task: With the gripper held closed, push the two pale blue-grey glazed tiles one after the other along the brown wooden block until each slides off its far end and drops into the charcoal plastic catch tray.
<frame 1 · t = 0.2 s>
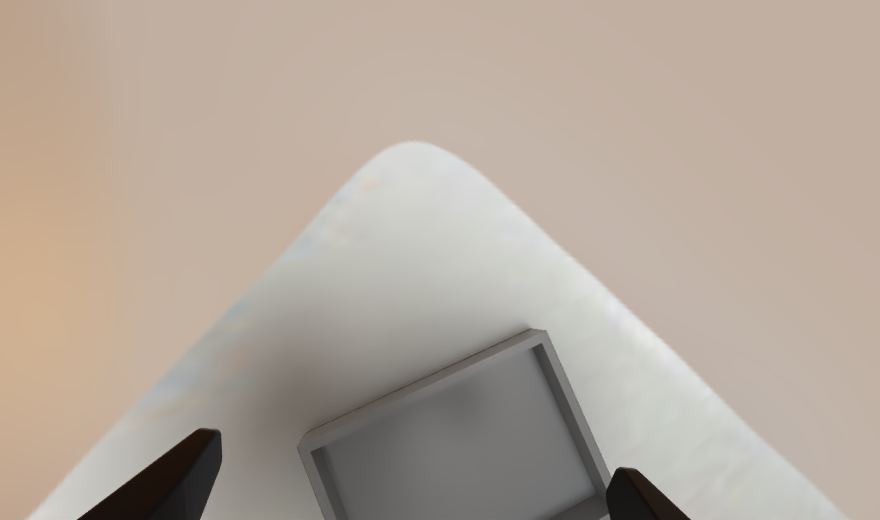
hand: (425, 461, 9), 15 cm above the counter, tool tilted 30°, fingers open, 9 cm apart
tray: (459, 464, 23), on the counter
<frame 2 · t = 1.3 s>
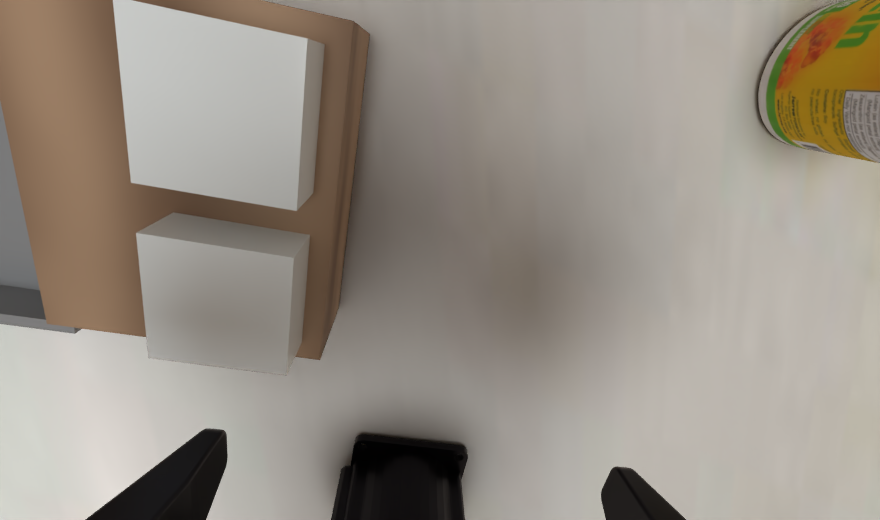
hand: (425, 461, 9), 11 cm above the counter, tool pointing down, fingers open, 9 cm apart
tile 2: (244, 109, 13), point 4 cm above the counter, touching brown wooden block
brown wooden block: (231, 167, 17), on the counter
supplement bottle: (816, 78, 17), on the counter
tile 1: (242, 281, 15), point 4 cm above the counter, touching brown wooden block
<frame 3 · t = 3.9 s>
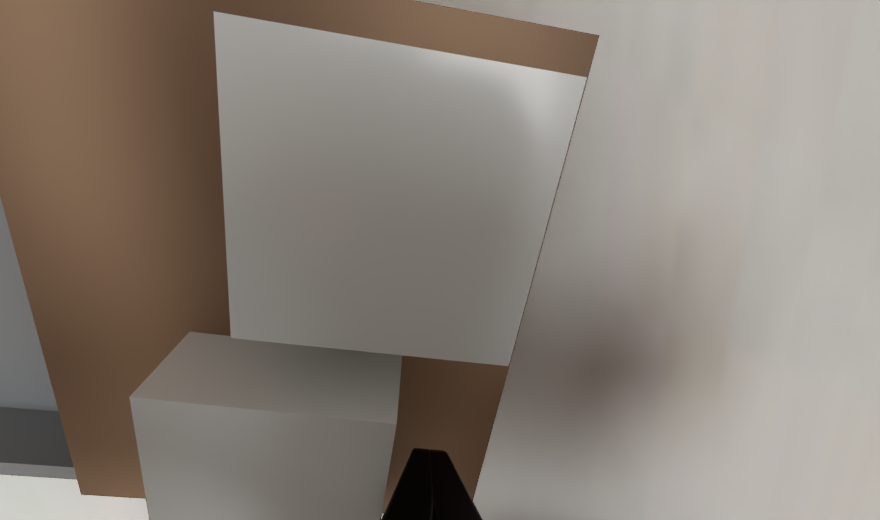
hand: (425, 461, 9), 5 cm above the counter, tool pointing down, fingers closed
tile 2: (396, 187, 8), point 4 cm above the counter, touching brown wooden block
brown wooden block: (325, 243, 12), on the counter
tile 1: (295, 421, 10), point 4 cm above the counter, touching brown wooden block, gripper
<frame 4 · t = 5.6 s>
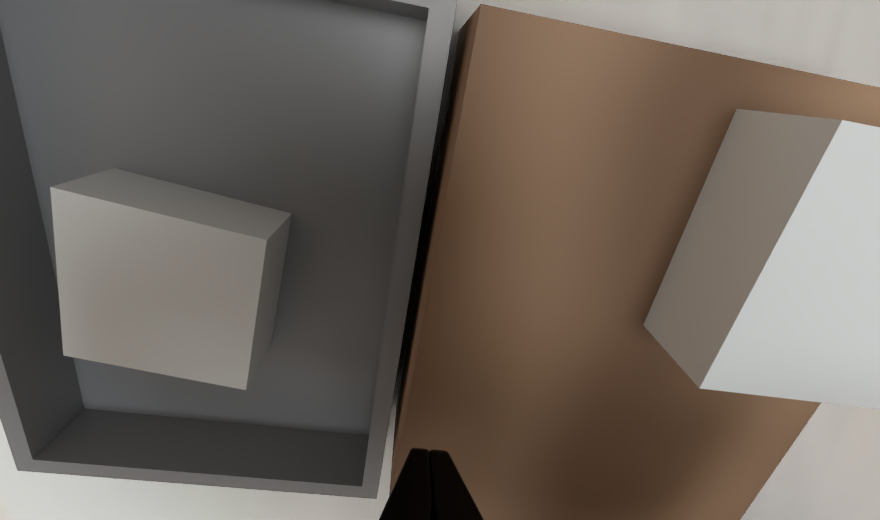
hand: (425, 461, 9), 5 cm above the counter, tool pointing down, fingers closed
tile 2: (787, 245, 8), point 4 cm above the counter, touching brown wooden block
brown wooden block: (579, 276, 13), on the counter
tray: (232, 242, 12), on the counter
tile 1: (159, 300, 10), point 2 cm above the counter, tilted 180°, touching tray
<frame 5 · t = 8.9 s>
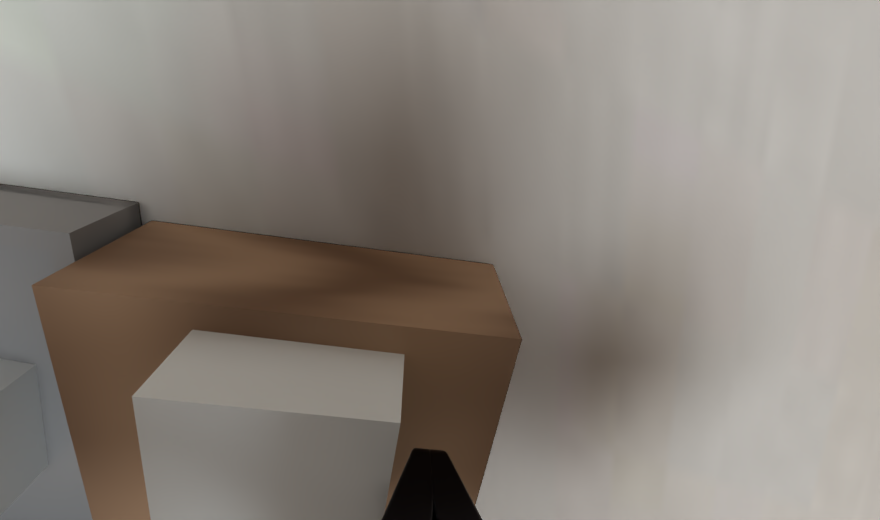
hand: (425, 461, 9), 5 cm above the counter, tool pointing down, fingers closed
tile 2: (297, 420, 10), point 4 cm above the counter, touching gripper
brown wooden block: (320, 399, 15), on the counter
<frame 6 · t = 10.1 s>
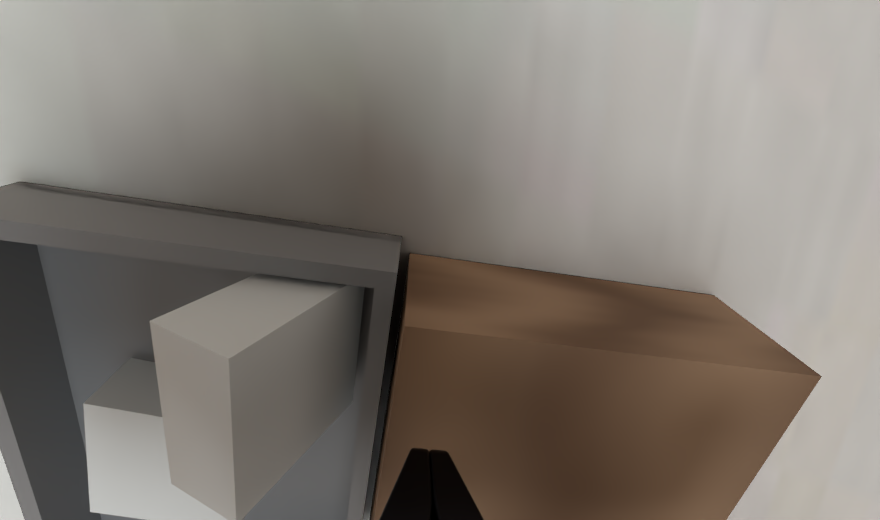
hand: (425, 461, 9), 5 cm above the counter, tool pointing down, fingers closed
tile 2: (308, 385, 10), point 3 cm above the counter, tilted 115°, touching tray
brown wooden block: (521, 419, 15), on the counter
tray: (228, 400, 15), on the counter
tile 1: (168, 474, 12), point 2 cm above the counter, tilted 180°, touching tray
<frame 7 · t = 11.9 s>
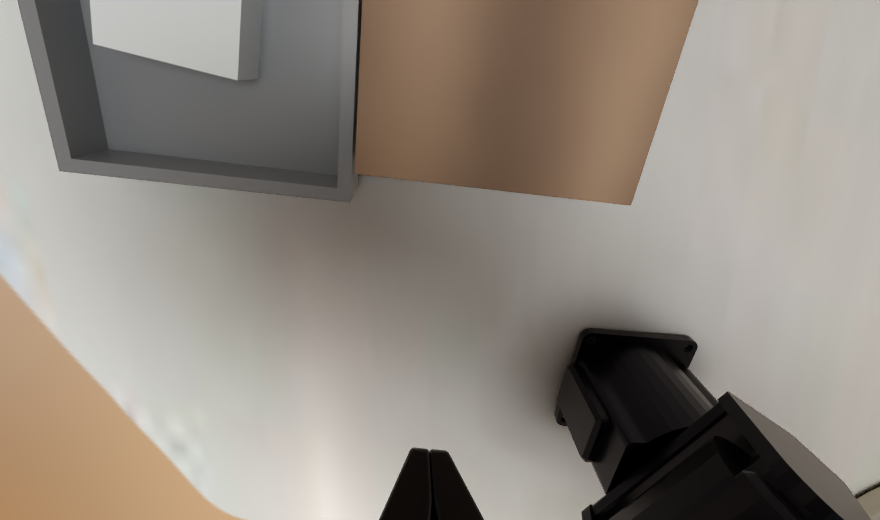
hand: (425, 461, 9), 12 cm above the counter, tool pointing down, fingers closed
brown wooden block: (507, 9, 16), on the counter
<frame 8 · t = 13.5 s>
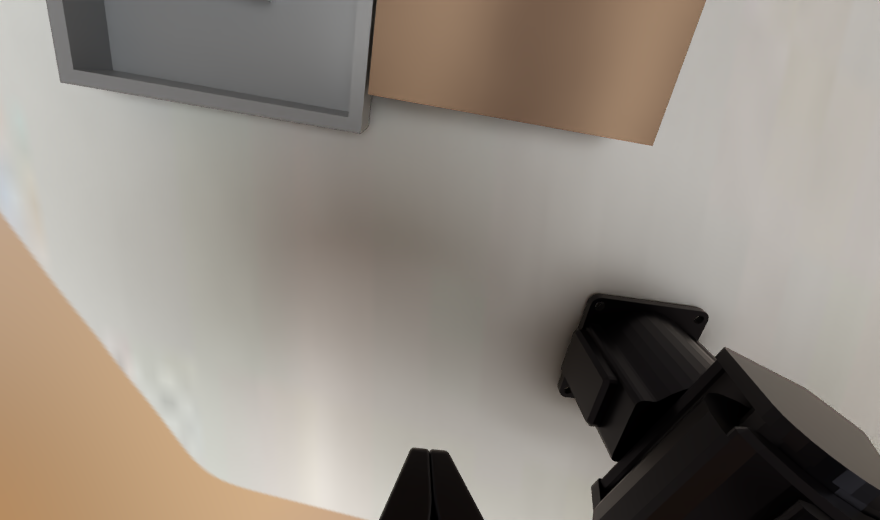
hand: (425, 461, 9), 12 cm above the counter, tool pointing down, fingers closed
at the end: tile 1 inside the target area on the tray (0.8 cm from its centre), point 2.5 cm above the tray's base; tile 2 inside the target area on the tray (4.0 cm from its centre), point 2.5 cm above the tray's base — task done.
